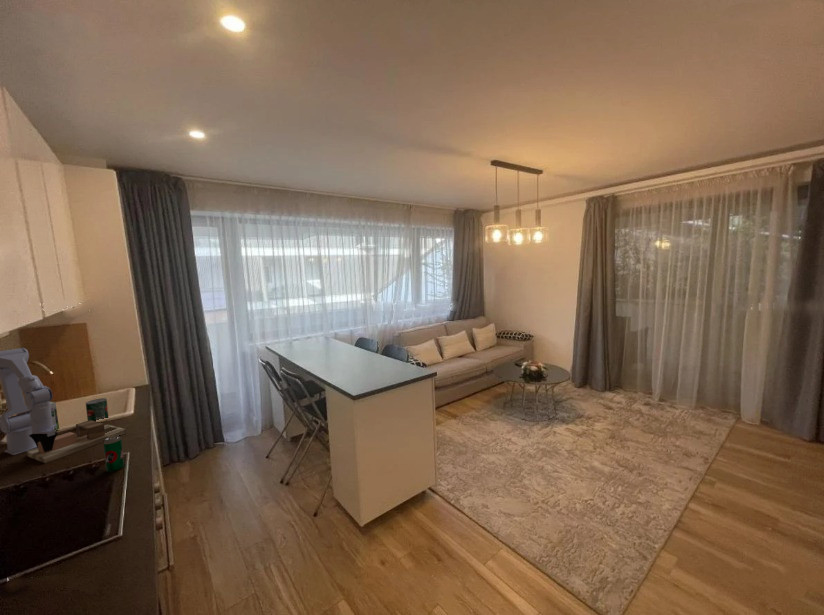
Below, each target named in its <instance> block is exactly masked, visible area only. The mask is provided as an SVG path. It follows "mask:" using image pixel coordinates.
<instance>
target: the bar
mask: <svg viewBox="0 0 824 615" xmlns="http://www.w3.org/2000/svg"><path fill="white" fill-rule="evenodd" d="M76 435H77V433H74V432H71V431H69V432H65V433H62V434H60V435H59V434H58V435H57V436H56V438H55V440H54V444H53V449H52V450H51V451H53V450H56V449H59V448H62V447H65V446H68V445H70V444H73V443H76ZM38 450H39V452H40V453H43V454H45V453H47V452H44V450H43V448H42V445H41V443H40V442H38ZM48 452H50V451H48Z"/></svg>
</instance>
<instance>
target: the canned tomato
mask: <svg viewBox="0 0 824 615" xmlns="http://www.w3.org/2000/svg"><path fill="white" fill-rule="evenodd" d="M85 409H86V418H87V421H88V420H92V421H96V420H99V419H104V418H109V412H108V401H107V398H106V397H105V398H95V399H91V400H89V401H87V402H85Z"/></svg>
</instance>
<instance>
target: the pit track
mask: <svg viewBox="0 0 824 615" xmlns="http://www.w3.org/2000/svg"><path fill="white" fill-rule="evenodd" d="M75 430H76V431H75V432H76V443H73V444H70V445H68V446H65V447H62V448H59V449H56V450H53V451H50V452H47V453H45V454H43V453H40V452H39V450H38V448H34V449H31V450H28V451H25V452H26V456H27V457H29V458H31V459H33V460H36V461H38V462H41V463H44V464H47V463H50V462H52V461H55V460H58V459H61V458H63V457H66V456H69V455H71V454H74V453H77V452H80V451H82V450H85V449H88V448H90V447H94V446H96V445H98V444H101V443H104V442H105V439H107V438H110V437H113V436H119V435H121V436H123V435H126V434H127V429H126V428H122V427H119V426H115V425H111V424H104V422H102V423H100V422H96V421H92V420H88V419H87V420H85V421H82V422H80V423H75ZM109 430H112V431H109ZM107 431H109V432H107ZM105 432H107V433H105ZM125 433H126V434H125ZM122 434H123V435H122Z"/></svg>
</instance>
